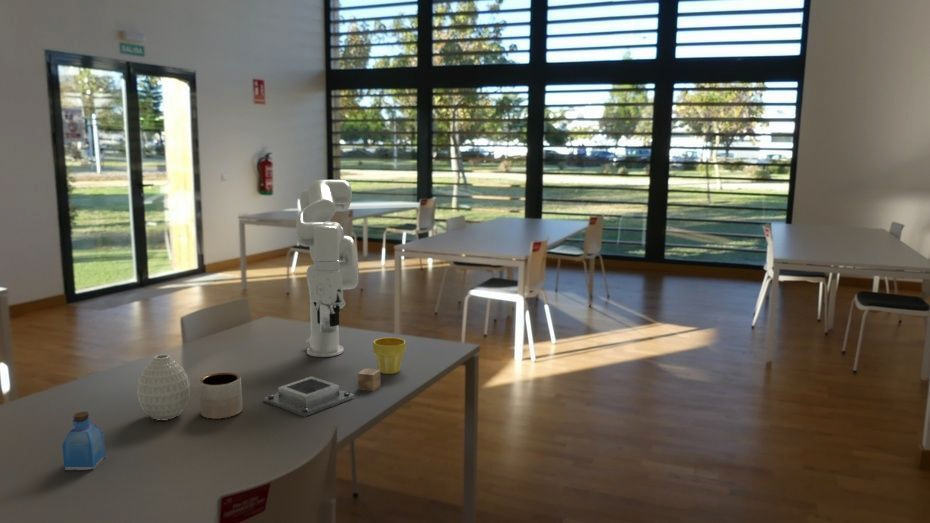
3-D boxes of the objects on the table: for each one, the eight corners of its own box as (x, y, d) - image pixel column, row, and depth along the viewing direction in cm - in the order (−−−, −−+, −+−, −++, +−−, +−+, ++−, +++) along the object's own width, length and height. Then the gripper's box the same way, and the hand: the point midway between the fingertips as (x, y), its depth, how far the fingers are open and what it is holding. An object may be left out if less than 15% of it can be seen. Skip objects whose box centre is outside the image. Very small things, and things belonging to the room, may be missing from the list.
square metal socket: (263, 401, 196) (262, 387, 196) (313, 384, 211) (312, 371, 210) (304, 416, 186) (304, 402, 185) (354, 397, 200) (354, 384, 199)
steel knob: (314, 331, 213) (314, 299, 211) (329, 327, 217) (328, 296, 216) (327, 334, 209) (326, 301, 208) (342, 330, 214) (341, 298, 212)
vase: (166, 429, 177) (162, 366, 174) (128, 421, 181) (123, 360, 179) (202, 411, 189) (198, 352, 186) (164, 404, 193) (160, 346, 190)
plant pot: (408, 366, 228) (408, 337, 227) (402, 376, 218) (402, 346, 217) (377, 364, 229) (377, 336, 228) (370, 375, 219) (369, 345, 218)
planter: (251, 408, 192) (249, 374, 190) (225, 422, 182) (223, 387, 180) (218, 402, 195) (216, 370, 193) (191, 417, 185) (189, 382, 183)
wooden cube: (358, 389, 207) (357, 373, 206) (365, 383, 212) (365, 368, 211) (373, 391, 205) (373, 375, 205) (380, 385, 210) (380, 370, 209)
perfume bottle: (77, 458, 160) (73, 409, 158) (105, 457, 161) (101, 408, 159) (64, 471, 154) (59, 420, 152) (93, 470, 155) (89, 419, 153)
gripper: (298, 264, 212) (300, 322, 215) (337, 270, 202) (338, 331, 205) (317, 261, 218) (319, 317, 221) (355, 267, 208) (356, 326, 211)
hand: (328, 323), depth 213 cm, fingers closed on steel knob, 5 cm apart
